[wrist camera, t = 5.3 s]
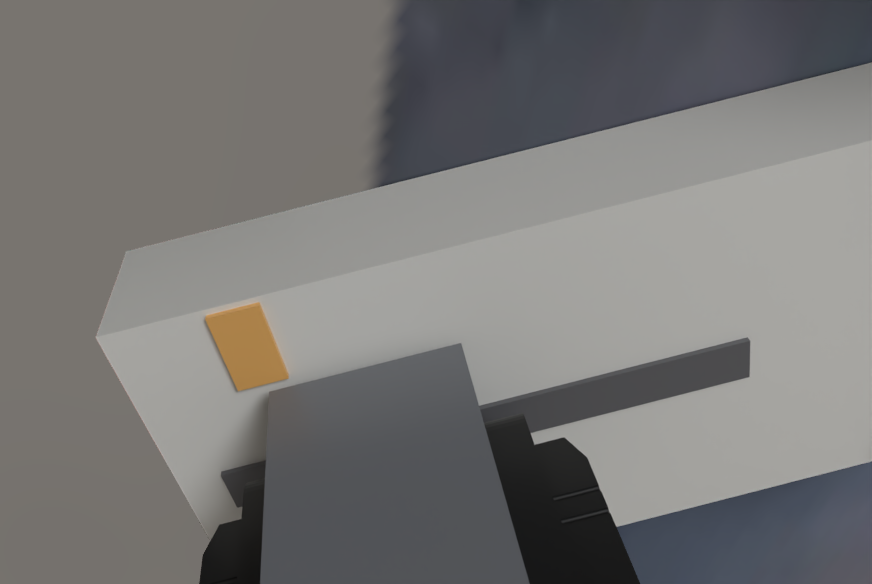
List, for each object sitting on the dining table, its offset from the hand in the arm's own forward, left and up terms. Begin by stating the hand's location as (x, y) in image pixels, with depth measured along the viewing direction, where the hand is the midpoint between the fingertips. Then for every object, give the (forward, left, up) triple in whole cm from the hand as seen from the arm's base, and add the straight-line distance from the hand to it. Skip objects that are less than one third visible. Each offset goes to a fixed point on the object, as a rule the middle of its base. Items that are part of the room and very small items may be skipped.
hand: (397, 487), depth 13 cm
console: (-4, 0, -3) cm, 6 cm away
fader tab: (0, 0, -1) cm, 1 cm away
